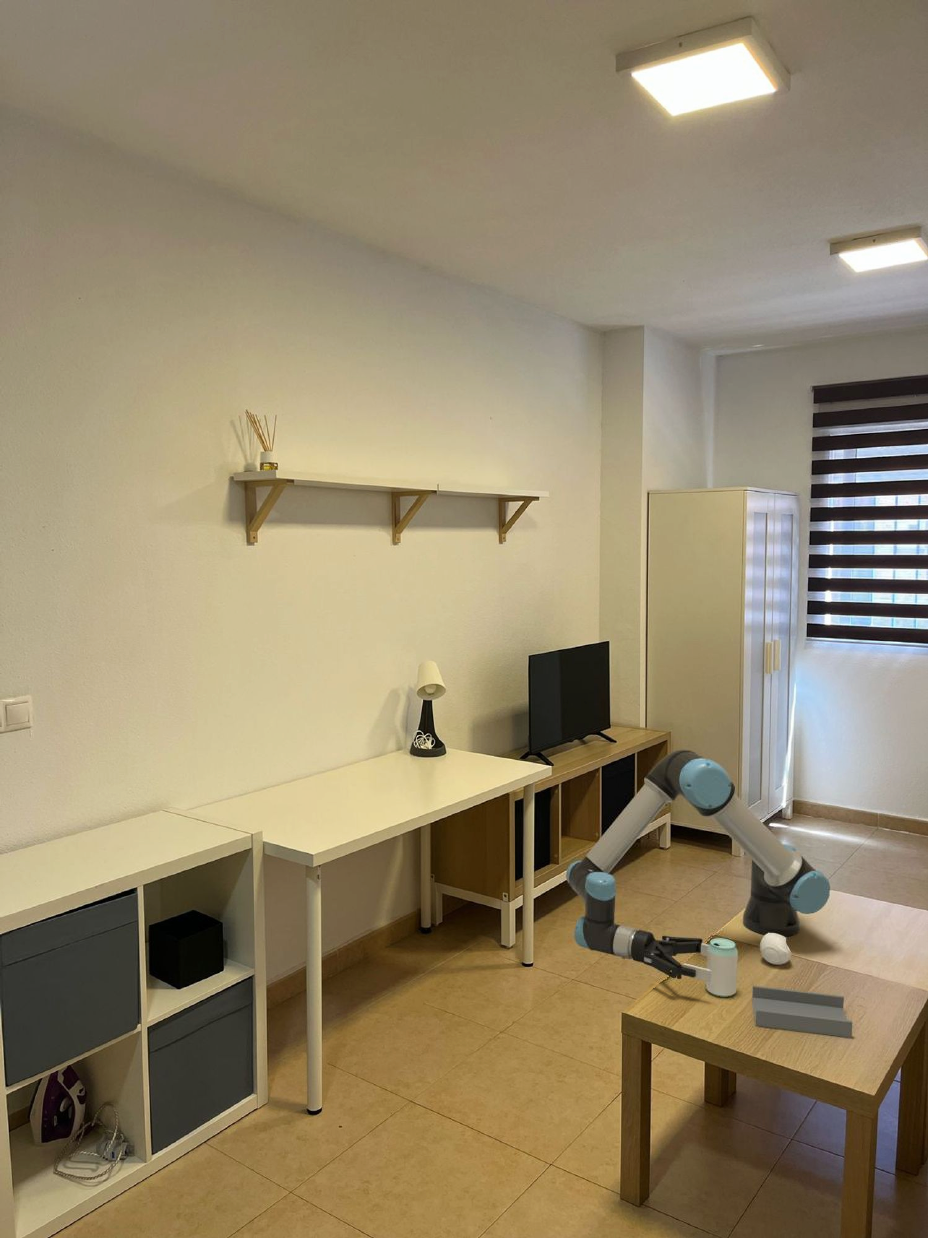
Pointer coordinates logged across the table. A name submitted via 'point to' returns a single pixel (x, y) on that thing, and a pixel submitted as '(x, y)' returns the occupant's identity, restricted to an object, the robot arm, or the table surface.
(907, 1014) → the table surface
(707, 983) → the can
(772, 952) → the cream rounded lump
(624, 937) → the robot arm
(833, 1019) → the duct channel
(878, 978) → the table surface
